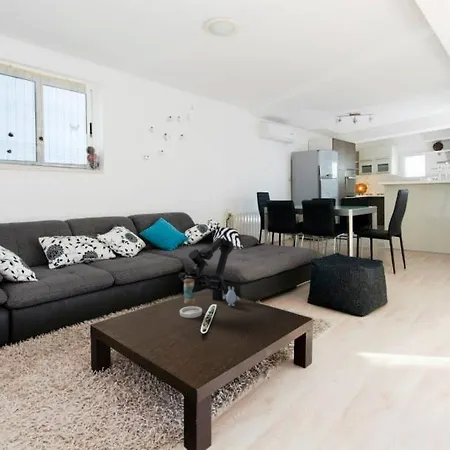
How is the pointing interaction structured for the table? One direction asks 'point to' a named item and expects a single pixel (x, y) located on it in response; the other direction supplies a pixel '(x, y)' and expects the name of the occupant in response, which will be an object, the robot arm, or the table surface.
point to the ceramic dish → (190, 312)
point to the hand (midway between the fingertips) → (188, 291)
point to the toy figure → (231, 297)
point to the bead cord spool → (189, 291)
